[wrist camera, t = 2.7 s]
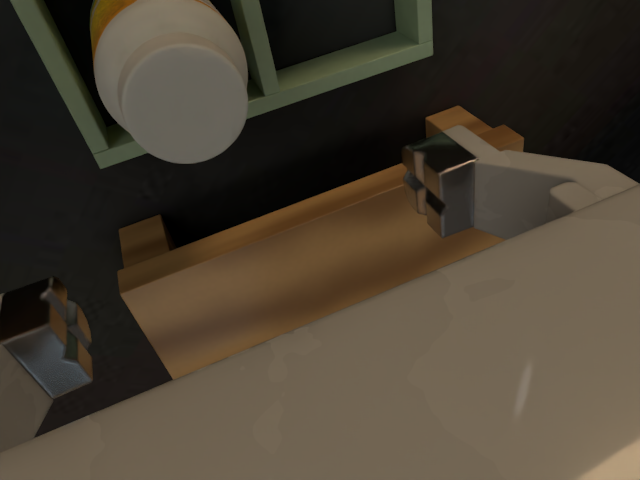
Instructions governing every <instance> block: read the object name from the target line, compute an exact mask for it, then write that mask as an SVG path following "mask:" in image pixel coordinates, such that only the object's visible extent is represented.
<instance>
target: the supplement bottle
mask: <svg viewBox="0 0 640 480" xmlns="http://www.w3.org/2000/svg"><path fill="white" fill-rule="evenodd" d="M89 26H90V34H91V43H92V54H93V66H94V75H95V82H96V86H97V90H98V93H99V95H100V98H101V100H102V102H103V104H104V106H105V107H106V109H107V111H108V112H109V113H110V115H111V116H112V117H113V118H114V120H115V121H116V122H117V123H118V124H119V125H120V126H122V127H123V128H124V129H125V130H126V131H128V132H129V133H130V134H131V136H132V137H133V139H134V140H135V141H136V142H137V143H138V144H139V145H140V146H141V147H142V148H143V149H145V150H146V151H147V152H148V153H150V154H152V155H153V156H155V157H157V158H159V159H162V160H165V161H169V162H172V163H180V164H190V163H197V162H202V161H206V160H208V159H211V158H213V157H215V156H217V155H219V154H221V153H222V152H223V151H225V150H226V149H227V148H228V147H229V146H230V145H231V144H232V143H233V142H234V141H235V140H236V139H237V137H238V136H239V134H240V133H241V131H242V129H243V127H244V124H245V121H246V118H247V112H248V95H247V83H248V68H247V61H246V57H245V53H244V50H243V47H242V45H241V42H240V41H239V39H238V37H237V35H236V34H235V32H234V30H233V29H232V28H231V26H230V25H229V24H228V23H227V21H226V20H225V19H224V18H223V16H222V15H221V14H220V13H219V11H218V10H217V9H216V8H215V7H214V6H213V4H212V3H211V2H210V1H209V0H93V3H92V6H91V11H90V24H89Z"/></svg>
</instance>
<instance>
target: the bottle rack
mask: <svg viewBox="0 0 640 480" xmlns="http://www.w3.org/2000/svg"><path fill="white" fill-rule="evenodd" d="M10 1H11V3H12V5H13V7H14V9H15V10H16V12H17V14H18V16H19V18H20V20H21V22H22V24H23V25H24V27H25V29H26V31H27V33H28V35H29V37H30V38H31V40H32V42H33V44H34V46H35V48H36V50H37V51H38V53H39V55H40V57H41V59H42V61H43V63H44V64H45V66H46V68H47V70H48V72H49V74H50V76H51V78H52V79H53V81H54V83H55V85H56V87H57V89H58V91H59V92H60V94H61V96H62V98H63V100H64V102H65V104H66V105H67V107H68V109H69V111H70V113H71V115H72V117H73V118H74V120H75V122H76V124H77V126H78V128H79V130H80V131H81V133H82V135H83V137H84V139H85V141H86V143H87V145H88V146H89V148H90V150H91V152H92V153H93V156H94V158H95V160H96V162H97V163H98V165H99V167H100V169H102V168H105V167H108V166H111V165H114V164H117V163H120V162H123V161H126V160H129V159H132V158H134V157H137V156H140V155H143V154H146V153H148V152H147V151H146V150H145V149H143V148H142V147H141V146H140V145H139V144H138V143H137V142H136V141H135V140H134V139H133V137H132V136H131V134H130V133H129V132H128V131H126V130H125V129H124V128H123V127H122V126H120V125H119V124H118V123H117V124H114V125H111V126H108V127H106V124H105V122H104V120H103V118H102V116H101V114H100V112H99V110H98V108H97V106H96V104H95V102H94V100H93V98H92V96H91V94H90V92H89V90H88V88H87V86H86V84H85V82H84V80H83V78H82V76H81V74H80V72H79V70H78V68H77V66H76V64H75V62H74V60H73V58H72V56H71V54H70V52H69V50H68V48H67V46H66V44H65V42H64V40H63V38H62V36H61V34H60V32H59V30H58V28H57V26H56V24H55V22H54V20H53V18H52V16H51V14H50V12H49V10H48V8H47V6H46V4H45V2H44V0H10ZM230 2H231V6H232V9H233V13H234V17H235V20H236V24H237V28H238V31H239V35H240V39H241V42H242V46H243V50H244V53H245V57H246V61H247V64H248V68H249V72H250V75H251V78H252V79H250V80H248V83H247V95H248V112H247V118H246V119H248V118H251V117H254V116H257V115H260V114H263V113H266V112H268V111H271V110H274V109H277V108H280V107H283V106H286V105H289V104H292V103H295V102H298V101H300V100H303V99H306V98H309V97H312V96H315V95H318V94H321V93H324V92H327V91H330V90H332V89H335V88H338V87H341V86H344V85H347V84H350V83H353V82H356V81H359V80H362V79H365V78H367V77H370V76H373V75H376V74H379V73H382V72H385V71H388V70H391V69H394V68H397V67H399V66H402V65H405V64H408V63H411V62H414V61H417V60H420V59H423V58H426V57H429V56H432V55H433V40H432V39H433V37H432V4H431V0H394V5H395V19H396V30H397V31H396V32H393V33H390V34H387V35H384V36H381V37H378V38H375V39H372V40H369V41H365V42H362V43H359V44H356V45H353V46H350V47H347V48H344V49H341V50H338V51H335V52H332V53H329V54H326V55H323V56H320V57H317V58H314V59H311V60H308V61H305V62H302V63H299V64H296V65H293V66H290V67H287V68H284V69H281V70H278V71H276V70H275V66H274V62H273V58H272V54H271V49H270V45H269V41H268V37H267V33H266V28H265V24H264V20H263V16H262V12H261V7H260V3H259V0H230Z"/></svg>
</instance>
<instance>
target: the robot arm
mask: <svg viewBox="0 0 640 480" xmlns="http://www.w3.org/2000/svg"><path fill="white" fill-rule="evenodd" d="M401 162H402V164H403V165H404V166H405V167H406V168H407V169H408V170H407V172H406V174H405V176H404V178H403V183H404V191H405V193H406V196H407V199H408V201H409V203H410V205H411V206H412V208H413V209H414V210H415V211H416V212H417V213H418V214H422V215H426V216H427V224H428V225H429V226H430V227H431V228H432V229H433V230H434V231H435V232H436V233H437V234H438V235H439V236H440V237H441V238H445V237H447V236H450V235H453V234H455V233H458V232H461V231H463V230H466V229H469V228H471V227H474V228H475V229H478V230H481V231H483V232H486V233H489V234H491V235H494V236H497V237H500V238H502V239H505V241H503V242H501V243H498V244H496V245H493V246H491V247H489V248H486V249H484V250H481V251H479V252H477V253H474V254H472V255H470V256H467V257H465V258H462V259H460V260H458V261H455V262H453V263H451V264H448V265H446V266H443V267H441V268H439V269H436V270H434V271H431V272H429V273H427V274H424V275H422V276H420V277H417V278H415V279H412V280H410V281H408V282H405V283H403V284H401V285H398V286H396V287H393V288H391V289H389V290H386V291H384V292H382V293H379V294H377V295H374V296H372V297H370V298H367V299H365V300H362V301H360V302H358V303H355V304H353V305H351V306H348V307H346V308H343V309H341V310H339V311H336V312H334V313H332V314H329V315H327V316H324V317H322V318H320V319H317V320H315V321H312V322H310V323H308V324H305V325H303V326H301V327H298V328H296V329H293V330H291V331H289V332H286V333H284V334H281V335H279V336H277V337H274V338H272V339H270V340H267V341H265V342H262V343H260V344H258V345H255V346H253V347H250V348H248V349H246V350H243V351H241V352H239V353H236V354H234V355H231V356H229V357H227V358H224V359H222V360H220V361H217V362H215V363H212V364H210V365H208V366H205V367H203V368H200V369H198V370H196V371H193V372H191V373H189V374H186V375H184V376H181V377H179V378H177V379H174V380H172V381H169V382H167V383H165V384H162V385H160V386H158V387H155V388H153V389H150V390H148V391H146V392H143V393H141V394H138V395H136V396H134V397H131V398H129V399H127V400H124V401H122V402H119V403H117V404H115V405H112V406H110V407H108V408H105V409H103V410H100V411H98V412H96V413H93V414H91V415H88V416H86V417H84V418H81V419H79V420H77V421H74V422H72V423H69V424H67V425H65V426H62V427H60V428H57V429H55V430H53V431H50V432H48V433H46V434H43V435H41V436H38V437H36V438H34V436H35V435H36V433H37V431H38V429H39V427H40V425H41V423H42V421H43V419H44V418H45V416H46V414H47V412H48V410H49V408H50V406H51V404H52V402H53V400H52V399H54V398H56V397H58V396H61V395H63V394H65V393H68V392H70V391H72V390H74V389H77V388H79V387H81V386H84V385H86V384H88V383H90V382H93V376H92V358H91V356H90V355H89V353H88V352H87V351H86V350H87V348H88V347H89V345H90V344H91V333H90V329H89V326H88V322H87V320H86V318H85V316H84V314H83V312H82V310H81V309H80V307H79V306H78V304H77V303H74V302H72V301H69V300H67V289H66V287H65V286H64V285H63V284H62V282H61V281H60V280H59V278H57V277H55V276H52V277H49V278H46V279H44V280H41V281H38V282H35V283H32V284H29V285H26V286H23V287H21V288H18V289H15V290H12V291H9V292H6V293H5V294H0V480H640V184H639V183H637V182H635V181H634V180H632V179H630V178H629V177H627V176H625V175H623V174H622V173H620V172H618V171H617V170H615V169H613V168H612V167H610V166H608V165H606V164H599V163H592V162H586V161H579V160H572V159H565V158H558V157H552V156H545V155H538V154H531V153H524V152H518V151H511V150H504V151H501V152H500V151H498V150H497V149H495V148H494V147H493V146H491V145H490V144H488V143H487V142H485V141H484V140H483V139H481V138H480V137H478V136H477V135H475V134H474V133H472V132H471V131H470V130H468V129H467V128H465V127H464V126H461V125H457V126H454V127H452V128H449V129H447V130H444V131H442V132H440V133H438V134H435V135H433V136H430V137H428V138H425V139H423V140H420V141H418V142H415V143H412V144H410V145H407V146H405V147H402V151H401ZM33 438H34V439H33Z"/></svg>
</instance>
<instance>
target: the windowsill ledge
mask: <svg viewBox="0 0 640 480" xmlns="http://www.w3.org/2000/svg"><path fill="white" fill-rule="evenodd" d="M425 121H426V138H428V137H430V136H433V135H435V134H438V133H440V132H442V131H444V130H447V129H449V128H452V127H454V126H457V125H461V126H464V127H465V128H467V129H468V130H470V131H471V132H472V133H474V134H475V135H477V136H478V137H480V138H481V139H483V140H484V141H485V142H487V143H488V144H490V145H491V146H493V147H494V148H495V149H497V150H498V151H500V152H501V151H504V150H511V151H518V152H523V145H524V138H523V137H522V136H520V135H519V134H517V133H516V132H514V131H513V130H511V129H510V128H508V127H507V126H505V125H501V126H499V127H496V128H493V129H492V128H491V127H489V126H488V125H487V124H485V123H484V122H482V121H481V120H479V119H478V118H476V117H475V116H473V115H472V114H470V113H469V112H467V111H466V110H465V109H463V108H462V107H460V106H456V107H453V108H450V109H447V110H445V111H442V112H439V113H436V114H434V115H431V116H428V117H426V118H425ZM407 170H408V169H407V168H406V167H405V166H404V165H403V164H402V163H401V164H398V165H396V166H393V167H390V168H388V169H385V170H383V171H380V172H377V173H375V174H372V175H369V176H367V177H364V178H361V179H359V180H356V181H354V182H351V183H348V184H346V185H343V186H340V187H338V188H335V189H332V190H330V191H327V192H324V193H322V194H319V195H317V196H314V197H311V198H309V199H306V200H303V201H301V202H298V203H295V204H293V205H290V206H288V207H285V208H282V209H280V210H277V211H274V212H272V213H269V214H266V215H264V216H261V217H259V218H256V219H253V220H251V221H248V222H245V223H243V224H240V225H237V226H235V227H232V228H229V229H227V230H224V231H222V232H219V233H216V234H214V235H211V236H208V237H206V238H203V239H200V240H198V241H195V242H193V243H190V244H187V245H185V246H182V247H179V248H176V246H175V244H174V241H173V239H172V237H171V235H170V233H169V231H168V229H167V227H166V225H165V223H164V221H163V218H162V216H161V215H160V214H159V215H157V216H154V217H151V218H148V219H146V220H143V221H140V222H137V223H135V224H132V225H129V226H126V227H124V228H121V229H119V235H120V242H121V250H122V257H123V264H124V269H121V270H119V271H117V274H118V282H119V290H120V295H121V297H122V298H123V300H124V302H125V303H126V305H127V306H128V308H129V310H130V311H131V313H132V314H133V316H134V317H135V319H136V321H137V322H138V324H139V325H140V327H141V329H142V330H143V332H144V333H145V335H146V337H147V338H148V340H149V341H150V343H151V345H152V346H153V348H154V349H155V351H156V353H157V354H158V356H159V357H160V359H161V361H162V362H163V364H164V365H165V367H166V369H167V370H168V372H169V373H170V375H171V377H172V378H173V380H174V379H177V378H179V377H181V376H184V375H186V374H189V373H191V372H193V371H196V370H198V369H200V368H203V367H205V366H208V365H210V364H212V363H215V362H217V361H220V360H222V359H224V358H227V357H229V356H231V355H234V354H236V353H239V352H241V351H243V350H246V349H248V348H250V347H253V346H255V345H258V344H260V343H262V342H265V341H267V340H270V339H272V338H274V337H277V336H279V335H281V334H284V333H286V332H289V331H291V330H293V329H296V328H298V327H301V326H303V325H305V324H308V323H310V322H312V321H315V320H317V319H320V318H322V317H324V316H327V315H329V314H332V313H334V312H336V311H339V310H341V309H343V308H346V307H348V306H351V305H353V304H355V303H358V302H360V301H362V300H365V299H367V298H370V297H372V296H374V295H377V294H379V293H382V292H384V291H386V290H389V289H391V288H393V287H396V286H398V285H401V284H403V283H405V282H408V281H410V280H412V279H415V278H417V277H420V276H422V275H424V274H427V273H429V272H431V271H434V270H436V269H439V268H441V267H443V266H446V265H448V264H451V263H453V262H455V261H458V260H460V259H462V258H465V257H467V256H470V255H472V254H474V253H477V252H479V251H481V250H484V249H486V248H489V247H491V246H493V245H496V244H498V243H501V242H503V241H505V239H502V238H500V237H497V236H494V235H491V234H489V233H486V232H483V231H481V230H478V229H475V228H474V227H471V228H469V229H466V230H463V231H461V232H458V233H455V234H453V235H450V236H447V237H445V238H441V237H440V236H439V235H438V234H437V233H436V232H435V231H434V230H433V229H432V228H431V227H430V226H429V225H428V224H427V216H426V215H422V214H418V213H417V212H416V211H415V210H414V209H413V208H412V206H411V205H410V203H409V201H408V199H407V196H406V193H405V191H404V183H403V178H404V176H405V174H406V172H407Z"/></svg>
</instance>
